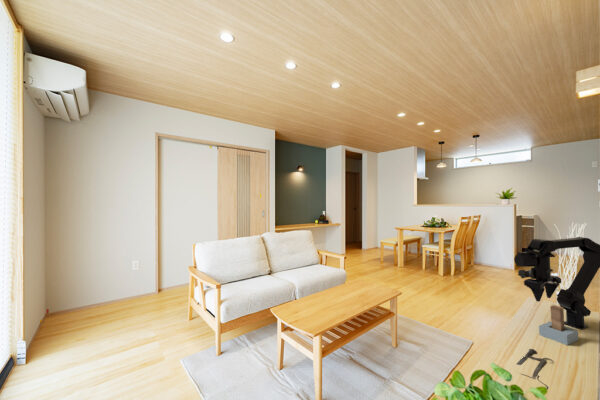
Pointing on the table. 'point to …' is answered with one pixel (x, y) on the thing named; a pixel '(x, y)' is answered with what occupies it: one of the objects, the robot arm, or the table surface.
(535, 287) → the robot arm
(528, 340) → the table surface
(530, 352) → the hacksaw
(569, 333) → the holder
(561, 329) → the tan rectangular block
